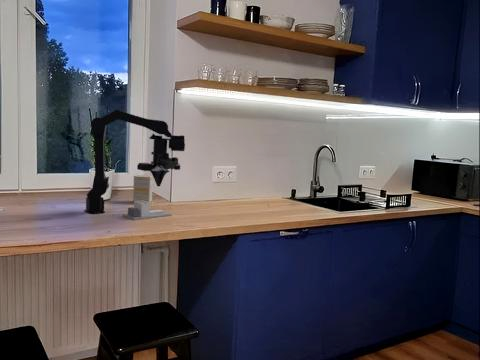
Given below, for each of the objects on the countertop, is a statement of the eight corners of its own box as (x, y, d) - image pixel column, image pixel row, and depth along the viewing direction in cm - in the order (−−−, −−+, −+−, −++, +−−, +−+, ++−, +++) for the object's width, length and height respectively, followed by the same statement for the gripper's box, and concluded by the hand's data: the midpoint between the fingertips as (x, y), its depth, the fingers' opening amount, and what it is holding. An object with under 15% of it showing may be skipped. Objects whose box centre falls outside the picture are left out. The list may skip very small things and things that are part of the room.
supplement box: (152, 202, 215) (153, 175, 213) (149, 204, 210) (150, 176, 209) (135, 200, 216) (136, 174, 214) (132, 202, 211) (133, 175, 209)
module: (141, 216, 180) (142, 203, 179) (133, 213, 184) (134, 200, 183) (149, 215, 183) (150, 202, 182) (141, 213, 187) (142, 199, 186)
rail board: (134, 220, 176) (135, 211, 176) (123, 215, 182) (123, 207, 182) (171, 215, 189) (171, 207, 188) (159, 211, 195) (159, 203, 195)
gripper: (152, 152, 175) (150, 190, 177) (189, 151, 188) (187, 187, 190) (137, 149, 183) (135, 186, 185) (173, 149, 196) (171, 184, 198)
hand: (158, 186), depth 189 cm, fingers closed
